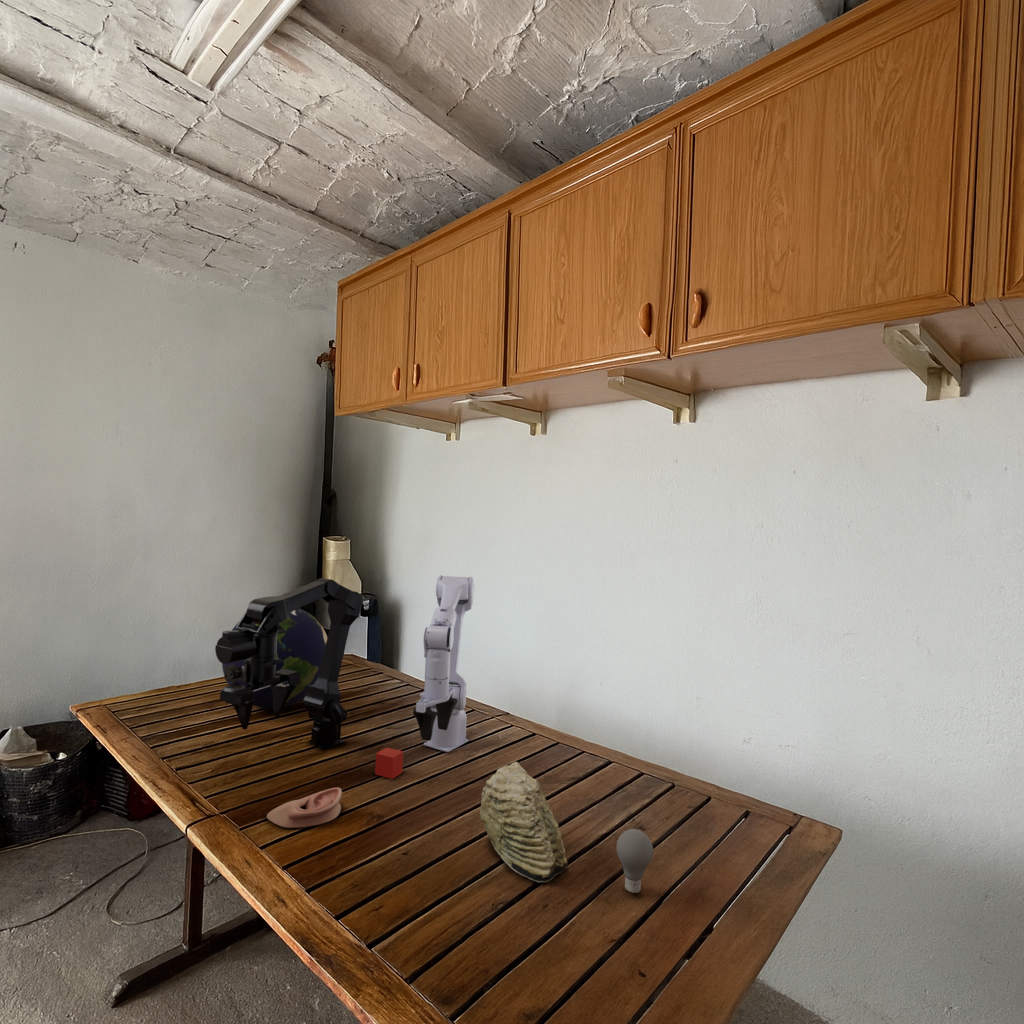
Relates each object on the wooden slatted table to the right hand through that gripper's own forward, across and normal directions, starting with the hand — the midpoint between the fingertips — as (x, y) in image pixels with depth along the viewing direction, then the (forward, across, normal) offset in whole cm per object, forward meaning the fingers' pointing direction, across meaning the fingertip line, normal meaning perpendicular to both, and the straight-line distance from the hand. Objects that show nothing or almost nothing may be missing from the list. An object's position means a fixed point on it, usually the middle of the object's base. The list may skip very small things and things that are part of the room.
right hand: (434, 734), depth 149 cm
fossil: (+9, +24, +32) cm, 41 cm away
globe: (+9, -16, -63) cm, 66 cm away
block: (+9, +6, -8) cm, 13 cm away
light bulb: (+9, +24, +53) cm, 59 cm away
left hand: (-2, +19, -34) cm, 40 cm away
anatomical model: (+9, +30, -12) cm, 33 cm away
